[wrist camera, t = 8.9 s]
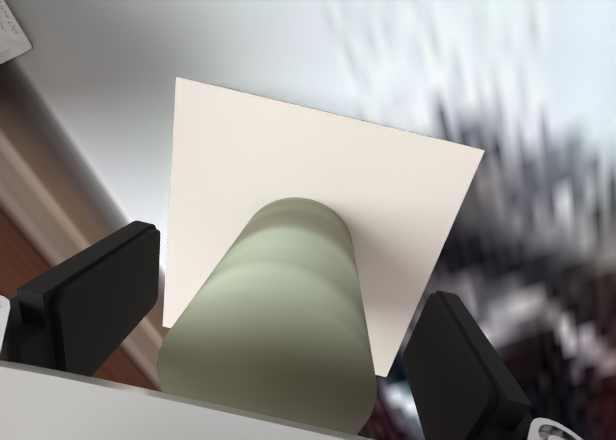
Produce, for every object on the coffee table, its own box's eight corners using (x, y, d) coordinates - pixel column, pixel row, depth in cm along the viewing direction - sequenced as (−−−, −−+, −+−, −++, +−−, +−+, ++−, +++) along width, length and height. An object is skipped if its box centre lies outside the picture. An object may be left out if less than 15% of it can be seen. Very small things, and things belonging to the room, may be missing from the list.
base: (214, 85, 15) (175, 76, 11) (445, 140, 15) (484, 150, 11) (195, 283, 19) (162, 326, 15) (375, 325, 19) (386, 376, 15)
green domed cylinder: (251, 185, 12) (161, 270, 6) (367, 212, 12) (408, 326, 6) (235, 284, 14) (153, 435, 8) (337, 307, 14) (343, 478, 8)
